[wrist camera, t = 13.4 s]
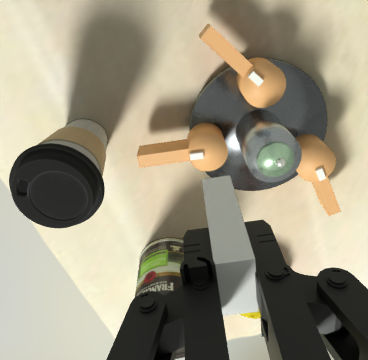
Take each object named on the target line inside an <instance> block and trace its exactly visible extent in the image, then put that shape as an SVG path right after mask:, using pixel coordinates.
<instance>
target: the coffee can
mask: <svg viewBox="0 0 368 360" xmlns="http://www.w3.org/2000/svg"><path fill="white" fill-rule="evenodd" d="M183 247H184V246H183V240H181V239H176V238H164V239H159V240H156V241H154V242H152V243H150V244H149V245H148V246H147V247H146V248H145V249H144V250H143V251H142V253H141V256H140V261H139V263H140V264H139V271H138V279H137V286H136V293H135V297H137V296H138V295H139V294H141V293H144V292H146V291H155V292H159V293H160V294H162V295H163V296H164V295H166V294H169V293H171V292H173V291H175V290H176V289H178V288H179V287H180V286H181V284H182V279H181V274H180V265H181V263H182V262H183V261H184V248H183ZM183 357H185V347H183V348H180V349H178V350H176V357H175V359H178V358H183Z"/></svg>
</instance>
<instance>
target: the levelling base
mask: <svg viewBox="0 0 368 360" xmlns="http://www.w3.org/2000/svg"><path fill="white" fill-rule="evenodd" d="M264 59H267V60H268V61H270V62H271V63H273V64H274V65H275V66H277V67H278V68H280V69H281V70H282V72H283V73H284V75H285V78H286V89H285V92H284V94H283V96H282V97H281V99H280V100H279V101H278V102H277V103H275V104H274V105H272V106H270V107H266V108H258V107H254V106H252V105H251V104H249V103H248V102H247V101H246V99H245V98H244V96H243V95H242V93H241V92H240V90H239V89H238V86H237V83H236V77H237V73H238V72H237V71H235V70H234V69H233V68H232V67H231V66H230V67H228V68H226V69H224V70H223V71H221V72H220V73H218V74H217V75H216V76H215V77H214V78H212V79H211V80H210V81H209V82H208V84H207V85H206V86H205V87H204V88H203V90H202V91H201V93H200V94H199V96H198V98H197V100H196V102H195V104H194V107H193V110H192V113H191V118H190V127H189V131H190V130H191V129H192V128H193V127H194V126H196V125H198V124H200V123H212V124H214V125H216V126H217V127H218V128H219V129H220V130H221V131H222V134H223V137H224V140H225V143H226V145H227V149H228V156H227V159H226V161H225V163H224V164H223V165H222V166H221V167H220V168H218V169H216V170H213V171H205V172H206V173H207V174H208V175H209V176H210V177H211V178H214V177H222V176H229V175H230V177H231V181H232V184H233V187H234V189H238V190H244V191H257V190H264V189H269V188H273V187H276V186H278V185H281V184H283V183H285V182H287V181H289V180H291V179H292V178H294V177H295V176H297V175H298V173H297V171H296V169H297V168H298V166H299V164H300V162H301V158H302V151H301V147H300V145H299V143H298V141H297V140H296V139H295V138H296V137H298V136H300V135H302V134H313V135H316V136H317V137H318V138H319V139H320V140H322V141H323V140H324V136H325V132H326V127H327V110H326V104H325V101H324V98H323V95H322V93H321V91H320V89H319V88H318V86H317V85H316V84H315V82H314V81H313V80H312V79H311V78H310V77H309V76H308V75H307V74H306V73H304V72H303V71H302V70H300V69H298V68H297V67H295V66H293V65H291V64H289V63H286V62H284V61H281V60H276V59H269V58H264Z"/></svg>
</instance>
